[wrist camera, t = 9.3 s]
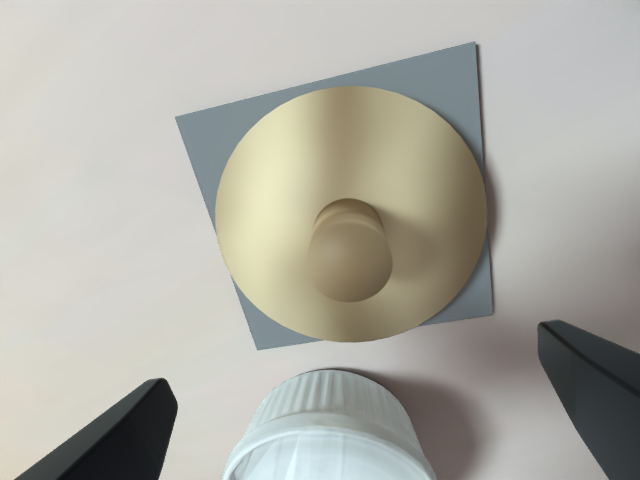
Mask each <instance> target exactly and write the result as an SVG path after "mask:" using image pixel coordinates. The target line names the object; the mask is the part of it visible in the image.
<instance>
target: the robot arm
mask: <svg viewBox="0 0 640 480" xmlns="http://www.w3.org/2000/svg"><path fill="white" fill-rule="evenodd" d="M537 331H538V356H539V360H540V362H541V364H542V366H543V368H544V370H545V372H546V374H547V376H548V378H549V379H550V381H551V383H552V385H553V387H554V389H555V391H556V393H557V395H558V397H559V399H560V400H561V402H562V404H563V406H564V408H565V410H566V412H567V414H568V416H569V418H570V419H571V421H572V423H573V425H574V427H575V428H576V430H577V432H578V433H579V435H580V436H581V438H582V439H583V441H584V443H585V444H586V446H587V447H588V449H589V450H590V452H591V453H592V455H593V456H594V458H595V459H596V461H597V462H598V464H599V465H600V467H601V468H602V470H603V471H604V473H605V474H606V476H607V477H608V479H609V480H640V354H638V353H636V352H634V351H631V350H629V349H627V348H624V347H622V346H620V345H617V344H615V343H613V342H610V341H608V340H606V339H603V338H601V337H599V336H596V335H594V334H592V333H589V332H587V331H585V330H582V329H580V328H578V327H575V326H573V325H571V324H568V323H566V322H564V321H561V320H551V321H544V322H540V323H539V324H538V329H537ZM177 410H178V404H177V401H176V398H175V396H174V394H173V392H172V390H171V388H170V386H169V384H168V382H167V380H166V379H164V378H157V379H150V380H147V381H146V382H144V383H143V384H142V385H140V386H139V387H138V388H136V389H135V390H134V391H132V392H131V393H130V394H128V395H127V396H126V397H124V398H123V399H121V400H120V401H119V402H117V403H116V404H115V405H113V406H112V407H111V408H109V409H108V410H107V411H105V412H104V413H103V414H101V415H100V416H99V417H97V418H96V419H95V420H93V421H92V422H91V423H89V424H88V425H87V426H85V427H84V428H83V429H81V430H80V431H79V432H77V433H76V434H75V435H73V436H72V437H71V438H69V439H68V440H67V441H65V442H64V443H62V444H61V445H60V446H58V447H57V448H56V449H54V450H53V451H52V452H50V453H49V454H48V455H46V456H45V457H44V458H42V459H41V460H40V461H38V462H37V463H36V464H34V465H33V466H32V467H30V468H29V469H28V470H26V471H25V472H24V473H22V474H21V475H20V476H18V477H17V478H16V479H14V480H158V479H159V476H160V473H161V470H162V467H163V463H164V460H165V456H166V452H167V448H168V445H169V441H170V437H171V433H172V430H173V426H174V422H175V419H176V415H177Z"/></svg>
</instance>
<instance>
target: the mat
mask: <svg viewBox="0 0 640 480" xmlns="http://www.w3.org/2000/svg"><path fill="white" fill-rule="evenodd" d="M343 86H363V87H372V88H380V89H383V90H387V91H391V92H395V93H399V94H401V95H404V96H406V97H408V98H411V99H413V100H416V101H418V102H419V103H421V104H423V105H424V106H426V107H428V108H429V109H431V110H433V111H434V112H435V113H436V114H438V115H439V116H440V117H441V118H443V119H444V120H445V121H446V122H448V123H449V124H450V125H451V127H452V128H453V129H454V130H455V131H456V132H457V133H458V134H459V135H460V136H461V138H462V139H463V141H464V142H465V144H466V145H467V147H468V148H469V150H470V151H471V153H472V154H473V157H474V159H475V161H476V163H477V165H478V167H479V169H480V172H481V176H482V179H483V183H484V169H483V154H482V138H481V123H480V107H479V92H478V76H477V61H476V46H475V42H471V43H467V44H463V45H459V46H455V47H451V48H447V49H443V50H439V51H435V52H431V53H428V54H424V55H420V56H416V57H412V58H408V59H404V60H400V61H396V62H392V63H388V64H384V65H380V66H376V67H372V68H368V69H364V70H360V71H356V72H352V73H348V74H344V75H340V76H336V77H332V78H328V79H324V80H320V81H316V82H312V83H308V84H304V85H300V86H296V87H292V88H288V89H284V90H280V91H276V92H273V93H269V94H265V95H261V96H257V97H253V98H249V99H245V100H241V101H237V102H233V103H229V104H225V105H221V106H217V107H213V108H209V109H205V110H201V111H197V112H193V113H189V114H185V115H181V116H177V117H175V119H176V122H177V125H178V128H179V130H180V133H181V136H182V139H183V142H184V145H185V147H186V150H187V153H188V156H189V159H190V161H191V164H192V167H193V170H194V173H195V176H196V178H197V181H198V184H199V187H200V190H201V193H202V195H203V198H204V201H205V204H206V207H207V210H208V212H209V215H210V218H211V221H212V224H213V227H214V229H215V232H216V226H215V206H216V198H217V191H218V188H219V184H220V180H221V177H222V174H223V171H224V169H225V167H226V164H227V162H228V160H229V158H230V156H231V155H232V153H233V151H234V150H235V148H236V146H237V145H238V143H239V142H240V141H241V140H242V138H243V137H244V136H245V135H246V134H247V132H248V131H249V130H250V129H251V128H252V127H253V126H254V125H255V124H256V123H257V122H259V121H260V120H261V119H262V118H263V117H264V116H265V115H267V114H268V113H270V112H271V111H273V110H274V109H276V108H277V107H279V106H280V105H282V104H284V103H286V102H288V101H290V100H292V99H294V98H296V97H298V96H301V95H304V94H307V93H310V92H313V91H316V90H322V89H327V88H333V87H343ZM484 186H485V185H484ZM216 235H217V233H216ZM230 275H231V274H230ZM231 277H232V276H231ZM232 280H233V283H234V286H235V289H236V292H237V294H238V297H239V300H240V303H241V306H242V309H243V311H244V314H245V317H246V320H247V323H248V326H249V328H250V331H251V334H252V337H253V340H254V343H255V345H256V348H257V350H263V349H269V348H276V347H283V346H289V345H296V344H303V343H309V342H316V341H323V340H321V339H317V338H313V337H309V336H306V335H303V334H300V333H298V332H295V331H293V330H291V329H289V328H287V327H284V326H282V325H281V324H279V323H277V322H276V321H274V320H273V319H271V318H269V317H268V316H267V315H266V314H264V313H263V312H262V311H261V310H259V309H258V308H257V307H256V306H255V305H254V304H253V303H252V302H251V301H250V300H249V299H248V298H247V297H246V296H245V295H244V293H243V292H242V291H241V290H240V288H239V287H238V286H237V284H236V283H235V281H234V279H233V278H232ZM490 315H493V308H492V293H491V277H490V262H489V246H488V231H487V228H486V234H485V240H484V243H483V247H482V250H481V254H480V256H479V259H478V261H477V263H476V265H475V268H474V270H473V272H472V273H471V275H470V277H469V278H468V280H467V281H466V283H465V285H464V286H463V287H462V288H461V290H460V291H459V292H458V293H457V295H456V296H455V297H454V298H453V299H452V300H451V301H450V302H449V303H448V304H447V305H446V306H445V307H444V308H443V309H441V310H440V311H439V312H438V313H436V314H435V315H434V316H432V317H431V318H430V319H428V320H426V321H425V322H423V323H421V324H420V325H418V326H423V325H430V324H436V323H443V322H450V321H456V320H463V319H470V318H476V317H483V316H490Z"/></svg>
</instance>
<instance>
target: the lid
mask: <svg viewBox="0 0 640 480" xmlns="http://www.w3.org/2000/svg"><path fill="white" fill-rule="evenodd" d="M215 226H216V233H217V239H218V244H219V247H220V251H221V254H222V257H223V260H224V262H225V264H226V266H227V269H228V271H229V273H230V274H231V276H232V278H233V279H234V281H235V283H236V284H237V286H238V287H239V288H240V290H241V291H242V292H243V293H244V295H245V296H246V297H247V298H248V299H249V300H250V301H251V302H252V303H253V304H254V305H255V306H256V307H257V308H258V309H259V310H261V311H262V312H263V313H264V314H266V315H267V316H268V317H269V318H271V319H273V320H274V321H276V322H277V323H279V324H281V325H282V326H284V327H287V328H289V329H291V330H293V331H295V332H298V333H300V334H303V335H306V336H309V337H313V338H317V339H321V340H326V341H335V342H365V341H374V340H378V339H383V338H388V337H391V336H394V335H397V334H400V333H403V332H405V331H407V330H409V329H412V328H414V327H416V326H418V325H420V324H421V323H423V322H425V321H426V320H428V319H430V318H431V317H432V316H434V315H435V314H436V313H438V312H439V311H440V310H441V309H443V308H444V307H445V306H446V305H447V304H448V303H449V302H450V301H451V300H452V299H453V298H454V297H455V296H456V295H457V293H458V292H459V291H460V290H461V288H462V287H463V286H464V285H465V283H466V281H467V280H468V278H469V277H470V275H471V273H472V272H473V270H474V268H475V265H476V263H477V261H478V259H479V256H480V254H481V250H482V247H483V243H484V240H485V234H486V228H487V199H486V192H485V186H484V183H483V179H482V176H481V172H480V169H479V167H478V165H477V163H476V161H475V159H474V157H473V154H472V153H471V151H470V150H469V148H468V147H467V145H466V144H465V142H464V141H463V139H462V138H461V136H460V135H459V134H458V133H457V132H456V131H455V130H454V129H453V128H452V127H451V125H450V124H449V123H448V122H446V121H445V120H444V119H443V118H441V117H440V116H439V115H438V114H436V113H435V112H434V111H433V110H431V109H429V108H428V107H426V106H424V105H423V104H421V103H419V102H418V101H416V100H413V99H411V98H408V97H406V96H404V95H401V94H399V93H395V92H391V91H387V90H383V89H380V88H372V87H363V86H343V87H333V88H327V89H322V90H316V91H313V92H310V93H307V94H304V95H301V96H298V97H296V98H294V99H292V100H290V101H288V102H286V103H284V104H282V105H280V106H279V107H277V108H276V109H274V110H273V111H271V112H270V113H268V114H267V115H265V116H264V117H263V118H262V119H261V120H260V121H259V122H257V123H256V124H255V125H254V126H253V127H252V128H251V129H250V130H249V131H248V132H247V134H246V135H245V136H244V137H243V138H242V140H241V141H240V142H239V143H238V145H237V146H236V148H235V150H234V151H233V153H232V155H231V156H230V158H229V160H228V162H227V164H226V167H225V169H224V171H223V174H222V177H221V180H220V184H219V188H218V191H217V198H216V206H215Z"/></svg>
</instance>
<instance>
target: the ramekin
mask: <svg viewBox="0 0 640 480" xmlns="http://www.w3.org/2000/svg"><path fill="white" fill-rule="evenodd" d="M222 480H437V478H436V475H435V473H434V471H433V469H432V467H431V465H430V463H429V462H428V460H427V459H426V458H425V456H424V454H423V451H422V449H421V446H420V443H419V441H418V439H417V436H416V434H415V431H414V428H413V426H412V423H411V421H410V418H409V416H408V414H407V413H406V411H405V409H404V407H403V406H402V405H401V404H400V402H399V401H398V399H397V398H395V397H394V396H393V395H392V394H391V393H390V392H389V391H388V390H386V389H385V388H384V387H383V386H381V385H379V384H377V383H376V382H374V381H372V380H370V379H368V378H366V377H363V376H361V375H358V374H355V373H351V372H346V371H340V370H319V371H312V372H307V373H304V374H301V375H298V376H296V377H293V378H291V379H289V380H287V381H285V382H283V383H281V384H280V385H279V386H277V387H275V388H274V389H273V390H272V391H271V392H270V393H269V394H268V395H267V396H266V398H265V399H264V400H263V401H262V402H261V404H260V406H259V408H258V410H257V411H256V413H255V415H254V417H253V419H252V421H251V423H250V425H249V427H248V429H247V430H246V432H245V434H244V436H243V438H242V440H241V441H240V442H239V443H238V444H237V445H236V447H235V448H234V449H233V451H232V453H231V454H230V456H229V459H228V461H227V463H226V466H225V469H224V472H223V476H222Z"/></svg>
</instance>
